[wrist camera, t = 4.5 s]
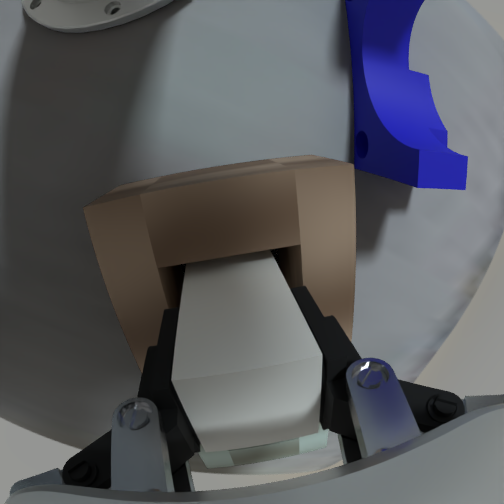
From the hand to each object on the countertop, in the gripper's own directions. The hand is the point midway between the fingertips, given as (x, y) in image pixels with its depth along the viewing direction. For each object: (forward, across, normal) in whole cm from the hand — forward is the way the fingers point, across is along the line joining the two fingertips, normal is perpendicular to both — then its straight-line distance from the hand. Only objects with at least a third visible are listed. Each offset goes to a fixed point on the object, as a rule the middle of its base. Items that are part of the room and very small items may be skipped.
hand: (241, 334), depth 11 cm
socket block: (+6, 0, +6) cm, 9 cm away
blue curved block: (+7, -10, -10) cm, 16 cm away
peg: (+6, 0, 0) cm, 6 cm away
